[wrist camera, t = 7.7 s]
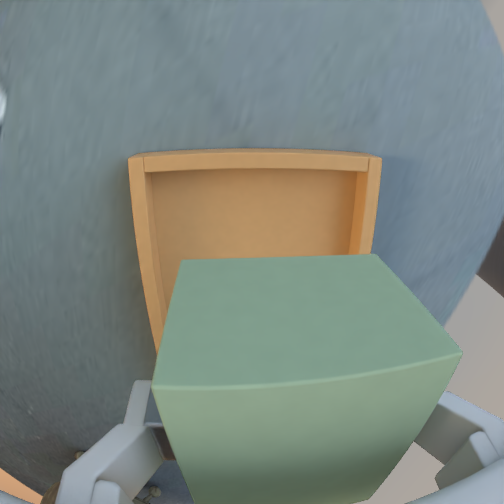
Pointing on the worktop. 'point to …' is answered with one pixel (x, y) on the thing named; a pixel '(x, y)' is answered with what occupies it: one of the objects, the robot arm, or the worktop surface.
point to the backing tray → (246, 209)
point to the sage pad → (295, 377)
